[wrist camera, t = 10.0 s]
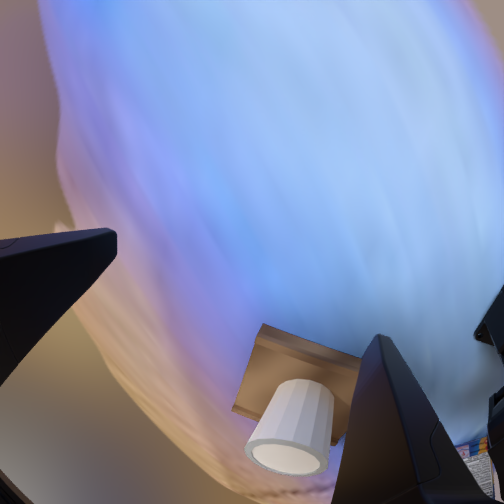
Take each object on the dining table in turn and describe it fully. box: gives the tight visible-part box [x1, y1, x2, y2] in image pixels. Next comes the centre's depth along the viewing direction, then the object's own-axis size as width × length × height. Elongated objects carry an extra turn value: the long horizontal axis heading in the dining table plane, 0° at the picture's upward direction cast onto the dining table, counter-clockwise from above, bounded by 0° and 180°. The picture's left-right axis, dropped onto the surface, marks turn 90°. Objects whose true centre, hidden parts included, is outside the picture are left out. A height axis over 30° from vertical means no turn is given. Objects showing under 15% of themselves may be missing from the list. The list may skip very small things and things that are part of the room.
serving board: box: [231, 324, 362, 446], centre depth 25 cm, size 12×12×2 cm
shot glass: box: [244, 379, 334, 477], centre depth 22 cm, size 7×7×7 cm
